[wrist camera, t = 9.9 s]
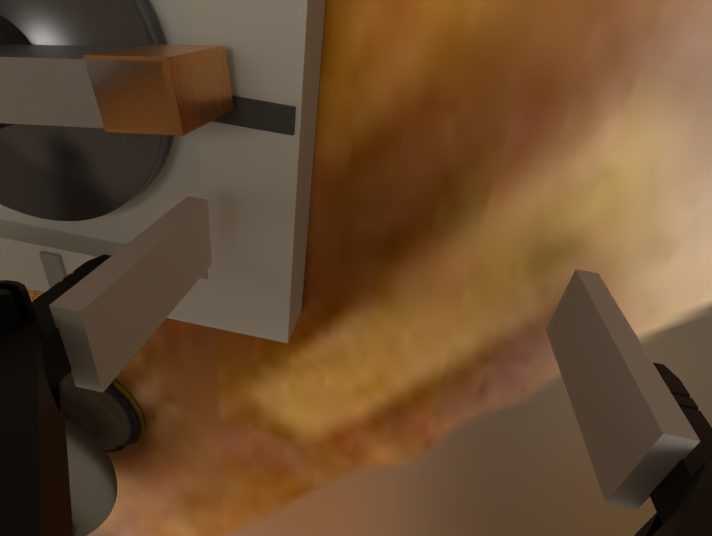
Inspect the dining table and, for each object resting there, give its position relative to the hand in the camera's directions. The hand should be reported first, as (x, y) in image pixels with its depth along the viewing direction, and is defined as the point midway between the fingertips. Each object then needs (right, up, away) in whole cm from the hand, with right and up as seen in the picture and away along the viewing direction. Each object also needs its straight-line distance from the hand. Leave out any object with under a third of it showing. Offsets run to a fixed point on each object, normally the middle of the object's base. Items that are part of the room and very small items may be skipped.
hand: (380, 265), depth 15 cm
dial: (-13, +8, +2) cm, 15 cm away
